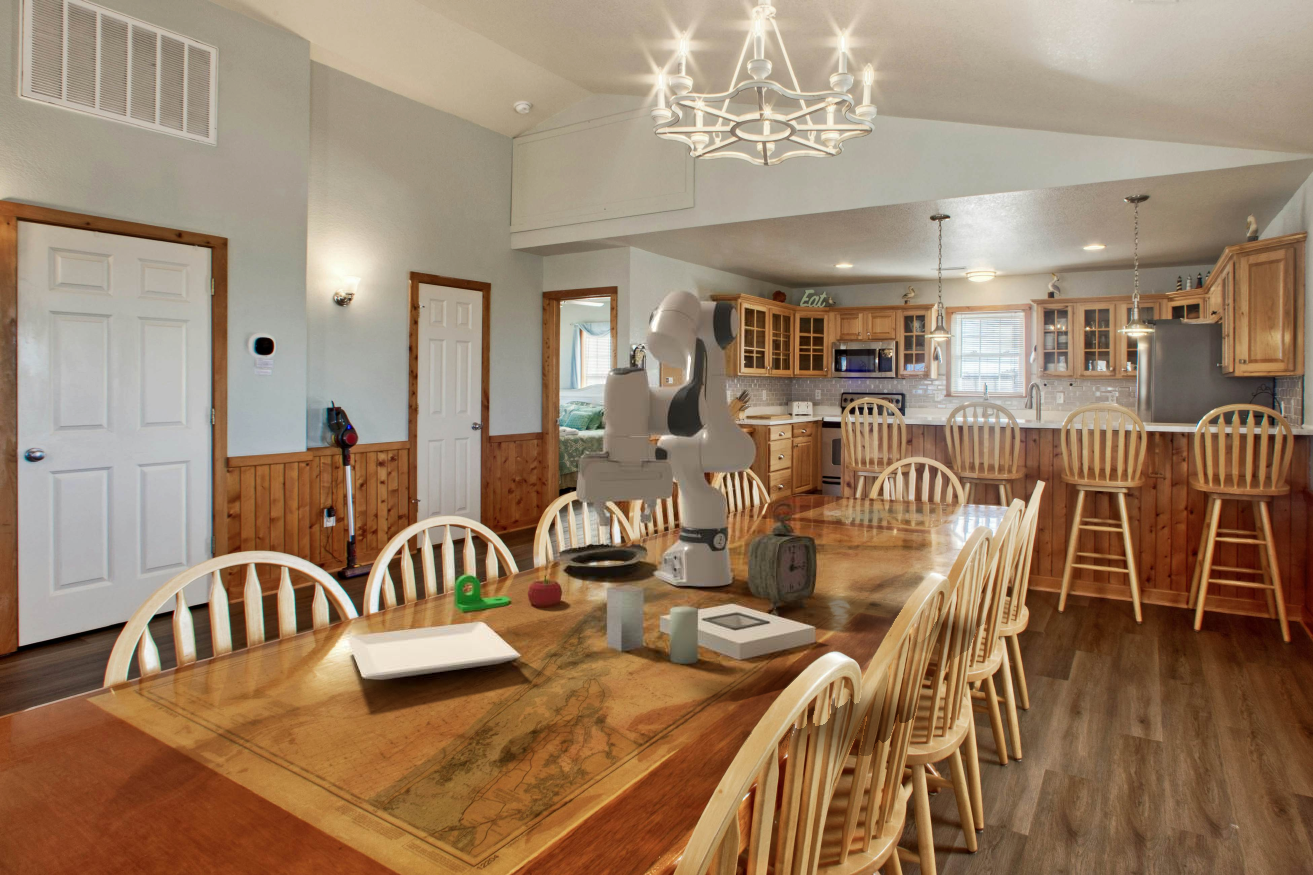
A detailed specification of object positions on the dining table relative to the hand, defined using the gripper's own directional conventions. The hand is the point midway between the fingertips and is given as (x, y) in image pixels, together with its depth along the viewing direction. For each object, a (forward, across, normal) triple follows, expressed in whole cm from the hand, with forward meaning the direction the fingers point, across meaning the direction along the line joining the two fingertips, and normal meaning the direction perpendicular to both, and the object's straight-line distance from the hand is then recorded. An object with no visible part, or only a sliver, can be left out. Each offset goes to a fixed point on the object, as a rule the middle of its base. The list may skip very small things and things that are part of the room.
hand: (625, 524), depth 143 cm
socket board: (+23, +22, -7) cm, 33 cm away
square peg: (+23, 0, 0) cm, 23 cm away
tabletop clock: (+23, +44, +2) cm, 50 cm away
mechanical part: (+24, -10, +43) cm, 50 cm away
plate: (+24, -32, +16) cm, 43 cm away
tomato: (+23, +2, +36) cm, 43 cm away
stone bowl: (+23, +30, +55) cm, 67 cm away
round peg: (+23, +4, -13) cm, 27 cm away
